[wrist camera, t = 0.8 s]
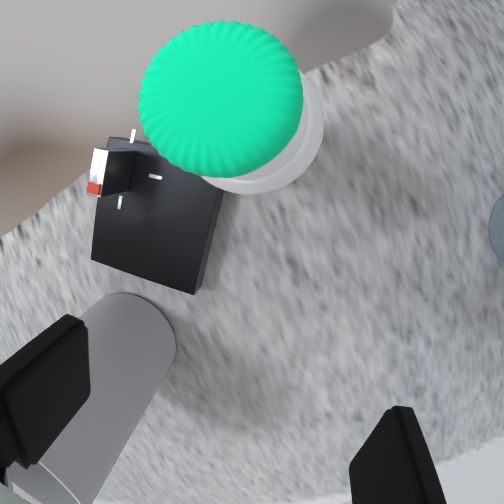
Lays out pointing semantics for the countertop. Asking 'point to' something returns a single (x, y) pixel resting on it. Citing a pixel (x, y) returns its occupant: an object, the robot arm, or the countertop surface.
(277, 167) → the water bottle
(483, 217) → the countertop surface
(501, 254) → the spray bottle
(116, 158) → the knob
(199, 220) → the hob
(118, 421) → the cylinder vase
